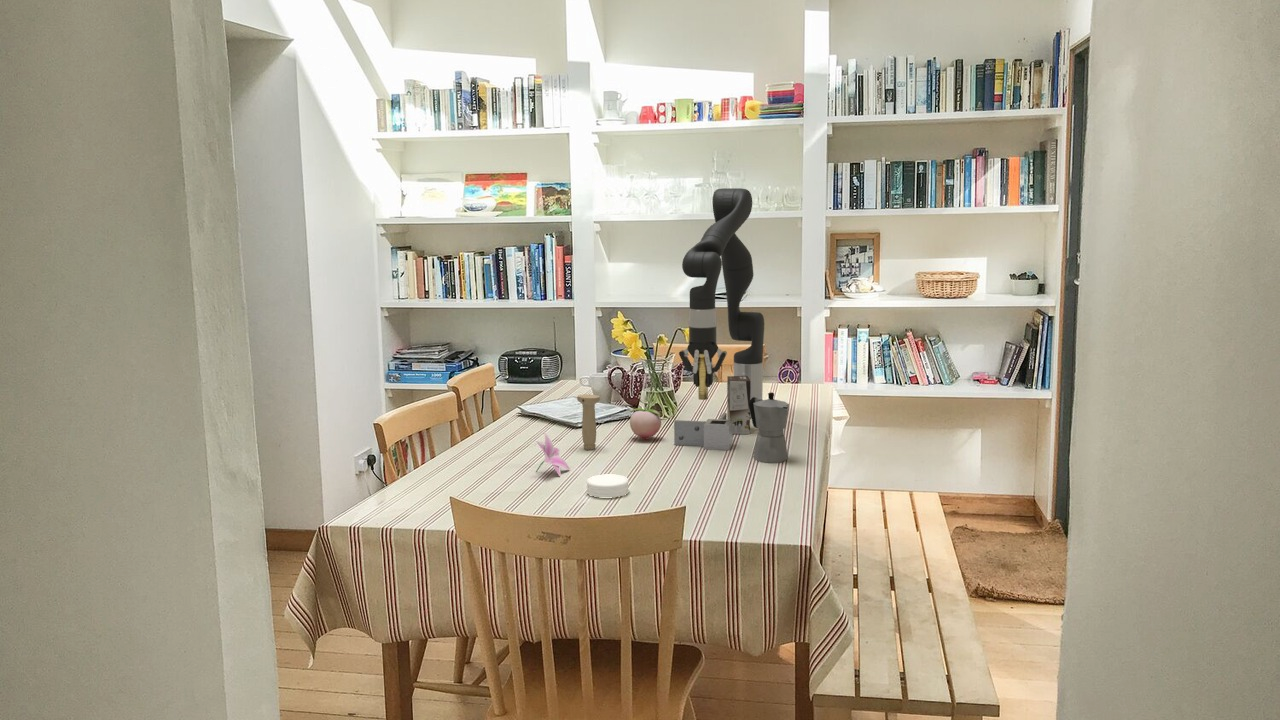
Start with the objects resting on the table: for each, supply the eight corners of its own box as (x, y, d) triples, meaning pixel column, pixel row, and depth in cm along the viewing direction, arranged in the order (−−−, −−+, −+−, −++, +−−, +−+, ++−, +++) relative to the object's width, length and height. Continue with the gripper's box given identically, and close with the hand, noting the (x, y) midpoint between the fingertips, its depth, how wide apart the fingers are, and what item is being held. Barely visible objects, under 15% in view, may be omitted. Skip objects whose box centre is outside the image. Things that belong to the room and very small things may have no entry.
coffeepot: (800, 461, 256) (801, 394, 253) (773, 466, 251) (774, 398, 248) (762, 449, 268) (762, 385, 266) (735, 454, 263) (736, 389, 260)
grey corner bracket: (683, 434, 287) (682, 411, 286) (736, 436, 283) (736, 413, 282) (672, 447, 272) (672, 423, 270) (728, 450, 268) (729, 425, 267)
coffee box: (750, 434, 286) (751, 380, 283) (728, 434, 286) (729, 380, 283) (748, 427, 295) (748, 375, 292) (726, 427, 295) (726, 375, 292)
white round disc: (605, 485, 237) (605, 471, 237) (637, 492, 231) (637, 478, 231) (578, 494, 230) (577, 480, 229) (609, 502, 223) (609, 487, 223)
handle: (593, 452, 268) (592, 398, 265) (575, 449, 271) (573, 396, 269) (603, 448, 272) (602, 395, 269) (585, 445, 275) (584, 393, 273)
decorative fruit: (626, 442, 278) (625, 408, 277) (633, 435, 286) (632, 402, 284) (658, 443, 276) (657, 409, 274) (664, 437, 284) (663, 403, 282)
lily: (538, 486, 240) (557, 453, 238) (510, 460, 247) (528, 428, 245) (569, 489, 249) (587, 458, 248) (541, 465, 256) (559, 434, 255)
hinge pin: (698, 397, 272) (697, 351, 270) (710, 397, 271) (710, 351, 269) (695, 399, 268) (695, 353, 266) (708, 400, 268) (707, 354, 265)
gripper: (730, 323, 268) (730, 384, 271) (680, 322, 271) (681, 382, 274) (725, 327, 261) (725, 390, 264) (674, 326, 264) (675, 388, 267)
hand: (703, 386), depth 269 cm, fingers closed on hinge pin, 2 cm apart
